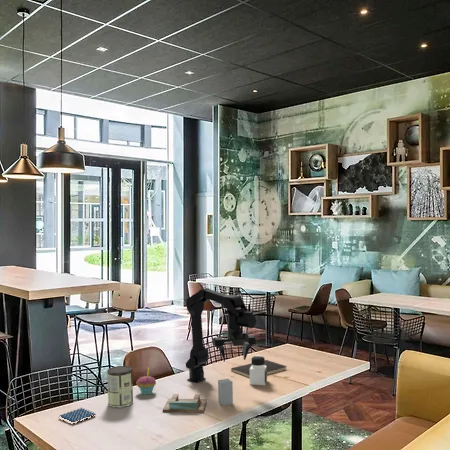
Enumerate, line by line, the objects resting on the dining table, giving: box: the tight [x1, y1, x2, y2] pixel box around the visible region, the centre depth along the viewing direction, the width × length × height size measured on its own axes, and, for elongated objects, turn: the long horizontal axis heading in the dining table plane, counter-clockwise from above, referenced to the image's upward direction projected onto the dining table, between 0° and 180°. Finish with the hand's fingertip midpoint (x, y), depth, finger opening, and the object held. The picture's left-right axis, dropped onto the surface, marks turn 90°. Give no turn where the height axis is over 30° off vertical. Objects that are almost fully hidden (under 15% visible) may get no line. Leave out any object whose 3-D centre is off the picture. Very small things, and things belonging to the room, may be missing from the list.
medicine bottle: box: [249, 355, 268, 386], centre depth 223 cm, size 7×7×12 cm
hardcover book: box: [230, 359, 288, 379], centre depth 242 cm, size 16×23×2 cm
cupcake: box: [135, 366, 157, 395], centre depth 212 cm, size 9×8×12 cm
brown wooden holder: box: [162, 393, 208, 413], centre depth 194 cm, size 12×16×4 cm
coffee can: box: [106, 365, 134, 408], centre depth 200 cm, size 10×10×14 cm
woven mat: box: [59, 407, 96, 422], centre depth 185 cm, size 10×11×2 cm
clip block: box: [217, 378, 234, 407], centre depth 198 cm, size 4×4×9 cm
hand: (234, 360), depth 211 cm, fingers open, 9 cm apart
